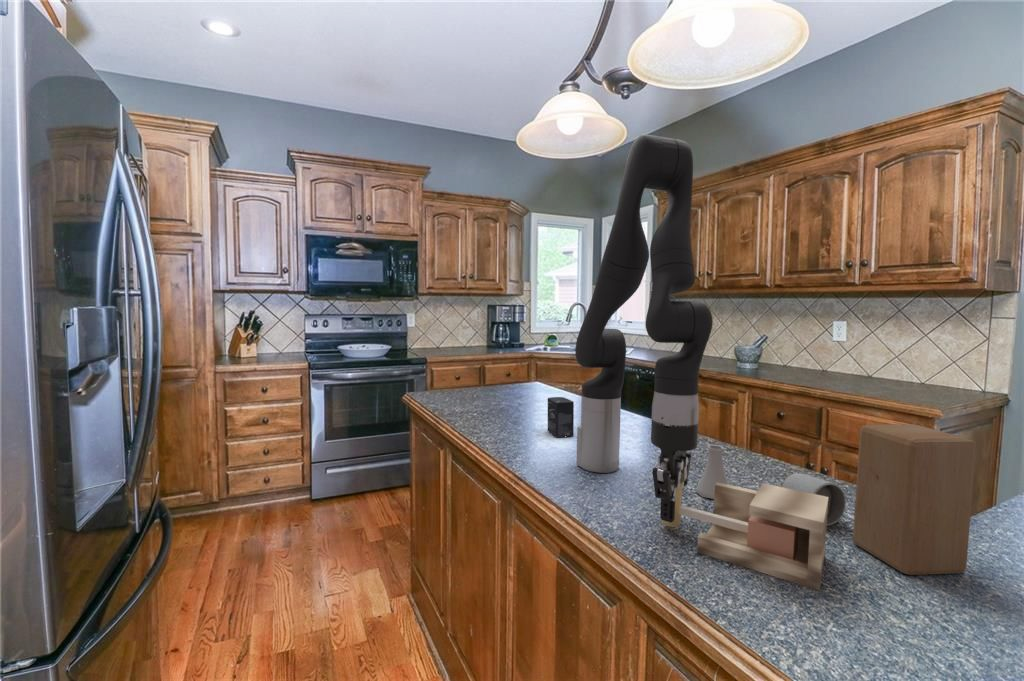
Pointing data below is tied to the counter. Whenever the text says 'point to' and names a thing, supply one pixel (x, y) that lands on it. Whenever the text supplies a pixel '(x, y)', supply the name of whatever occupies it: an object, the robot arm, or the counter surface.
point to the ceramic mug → (819, 493)
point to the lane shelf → (776, 507)
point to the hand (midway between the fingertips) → (670, 516)
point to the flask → (712, 472)
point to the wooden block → (914, 497)
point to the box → (560, 416)
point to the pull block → (745, 529)
